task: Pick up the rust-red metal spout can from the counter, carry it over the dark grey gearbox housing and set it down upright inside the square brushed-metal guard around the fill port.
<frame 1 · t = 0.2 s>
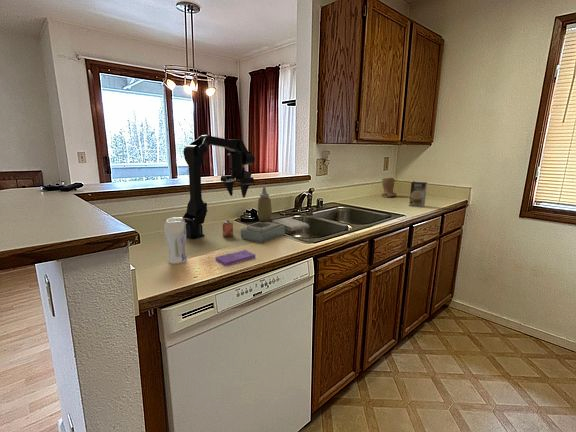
hand: (237, 196, 158), 14 cm above the counter, fingers open, 9 cm apart
spout can: (228, 236, 140), on the counter
washcloth: (289, 227, 158), on the counter
brown boot: (387, 196, 249), on the counter
coffee box: (416, 206, 210), on the counter
sponges: (235, 260, 112), on the counter
gearbox: (263, 236, 140), on the counter
squeeze bottle: (264, 220, 170), on the counter
beer glass: (177, 261, 110), on the counter
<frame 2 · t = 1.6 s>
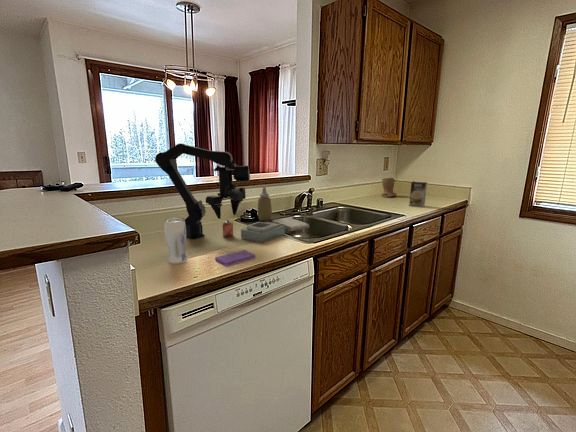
hand: (227, 216, 138), 9 cm above the counter, fingers open, 9 cm apart
nothing on the counter moved.
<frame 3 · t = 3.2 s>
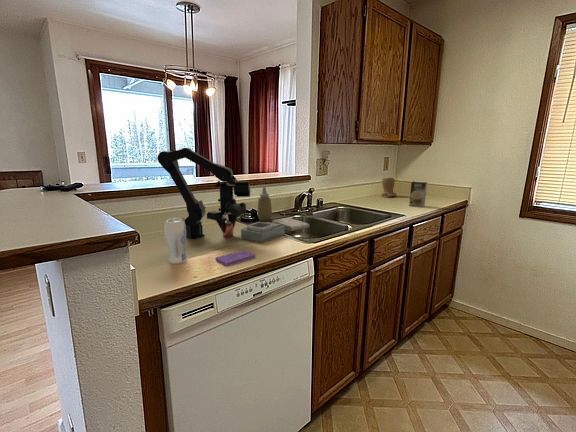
hand: (227, 231, 139), 2 cm above the counter, fingers closed on spout can, 5 cm apart
spout can: (228, 236, 140), on the counter, touching gripper
everything else where it was.
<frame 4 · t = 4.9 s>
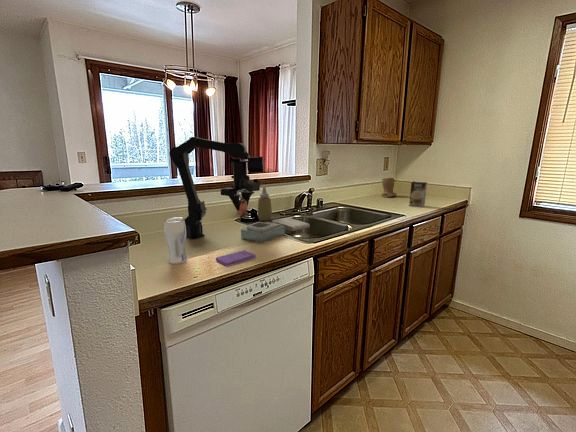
hand: (241, 209, 136), 13 cm above the counter, fingers closed on spout can, 5 cm apart
spout can: (242, 214, 137), point 10 cm above the counter, touching gripper
everything else where it was.
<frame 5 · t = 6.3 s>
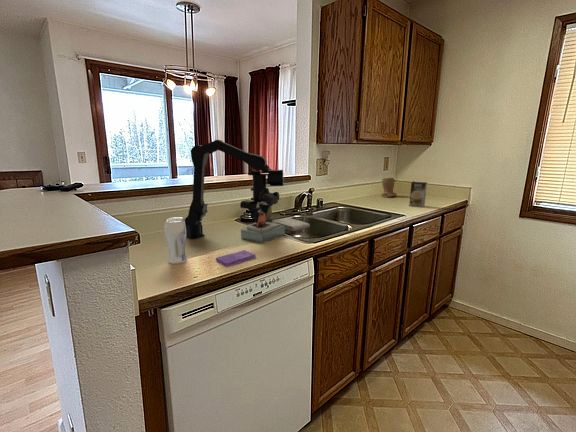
hand: (260, 221, 137), 7 cm above the counter, fingers closed on spout can, 5 cm apart
spout can: (260, 226, 137), point 5 cm above the counter, touching gripper
everything else where it was.
when the fingers open (7 cm above the counter, at t = 7.0 s): spout can stays where it is, resting on gearbox.
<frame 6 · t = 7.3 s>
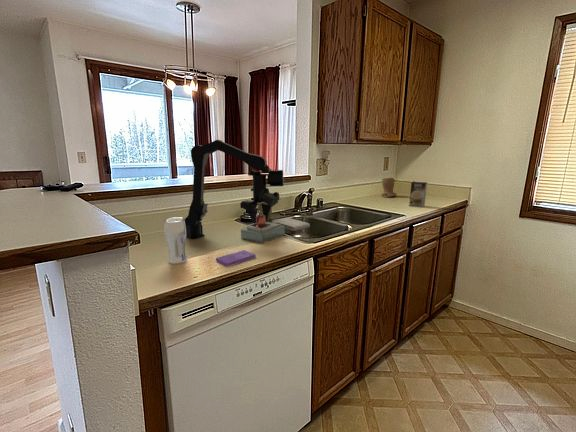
hand: (260, 221, 137), 7 cm above the counter, fingers open, 7 cm apart
spout can: (260, 228, 137), point 4 cm above the counter, touching gearbox
everything else where it was.
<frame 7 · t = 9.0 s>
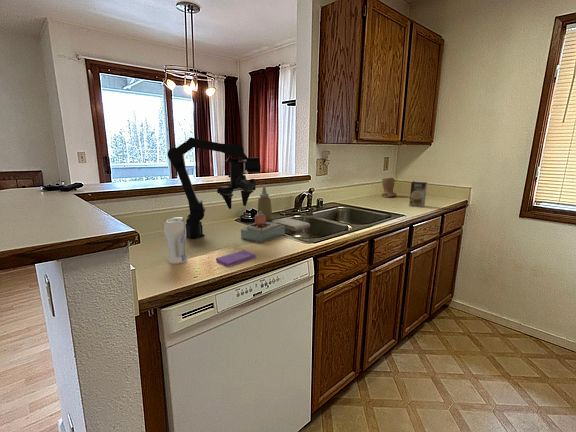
hand: (237, 207, 142), 12 cm above the counter, fingers open, 9 cm apart
nothing on the counter moved.
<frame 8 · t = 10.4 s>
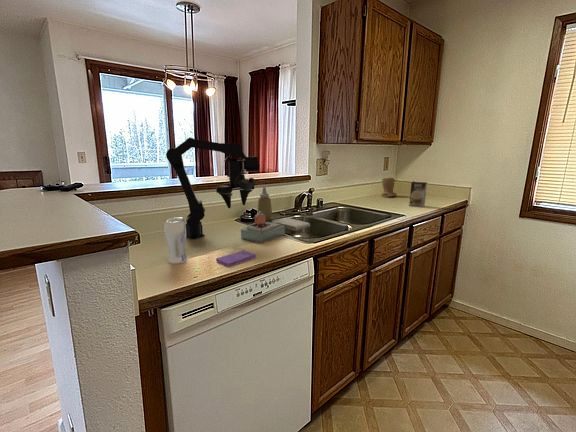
hand: (236, 206, 142), 13 cm above the counter, fingers open, 9 cm apart
nothing on the counter moved.
at the end: spout can 0.0 cm from the target spot on the gearbox, point 4.0 cm above the gearbox's base; spout can tilted 0°; the gripper is holding nothing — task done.
